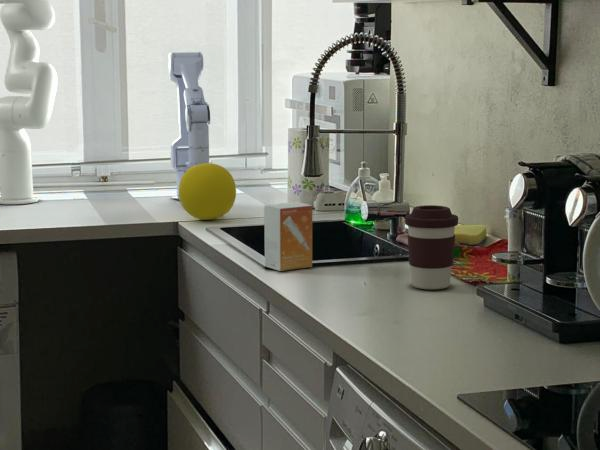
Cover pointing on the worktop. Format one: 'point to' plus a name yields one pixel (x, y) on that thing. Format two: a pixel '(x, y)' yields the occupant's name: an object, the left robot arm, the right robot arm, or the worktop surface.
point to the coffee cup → (431, 245)
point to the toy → (207, 191)
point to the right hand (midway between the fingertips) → (200, 195)
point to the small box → (288, 236)
